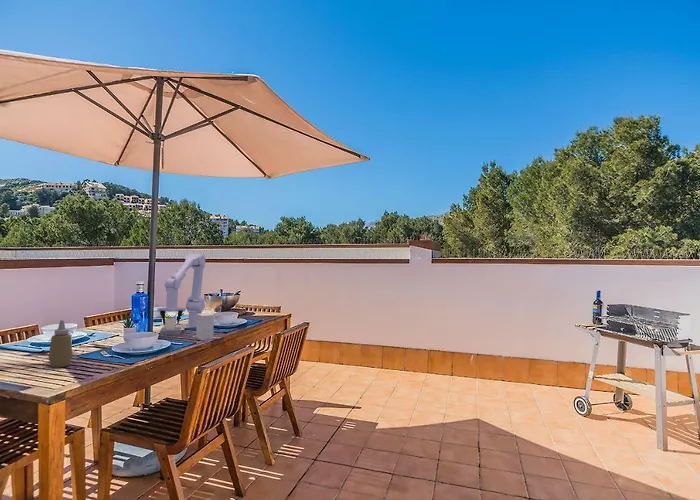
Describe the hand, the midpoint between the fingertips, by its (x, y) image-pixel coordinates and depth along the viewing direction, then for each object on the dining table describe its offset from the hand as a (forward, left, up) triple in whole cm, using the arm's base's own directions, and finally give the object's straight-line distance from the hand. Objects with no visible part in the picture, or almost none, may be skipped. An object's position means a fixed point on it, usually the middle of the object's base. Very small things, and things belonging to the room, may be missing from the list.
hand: (171, 324), depth 251 cm
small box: (+17, +18, -5) cm, 25 cm away
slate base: (0, 0, -5) cm, 5 cm away
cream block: (0, 0, -2) cm, 2 cm away
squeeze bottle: (+65, -36, -5) cm, 74 cm away
